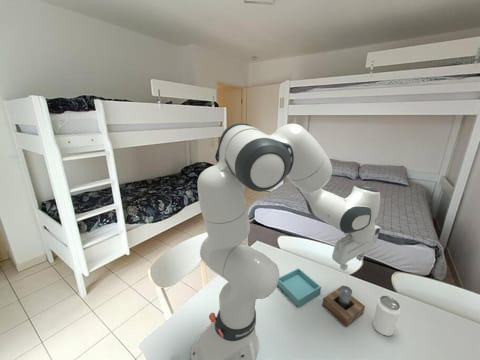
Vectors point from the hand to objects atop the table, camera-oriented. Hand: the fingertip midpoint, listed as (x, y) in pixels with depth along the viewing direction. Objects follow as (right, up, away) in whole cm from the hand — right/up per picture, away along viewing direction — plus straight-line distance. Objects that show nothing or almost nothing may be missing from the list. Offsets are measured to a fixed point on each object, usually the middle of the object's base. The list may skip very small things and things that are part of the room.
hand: (351, 263), depth 77 cm
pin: (0, -21, +7) cm, 22 cm away
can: (+11, -23, 0) cm, 26 cm away
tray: (-15, -18, +16) cm, 28 cm away
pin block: (0, -21, +7) cm, 22 cm away
